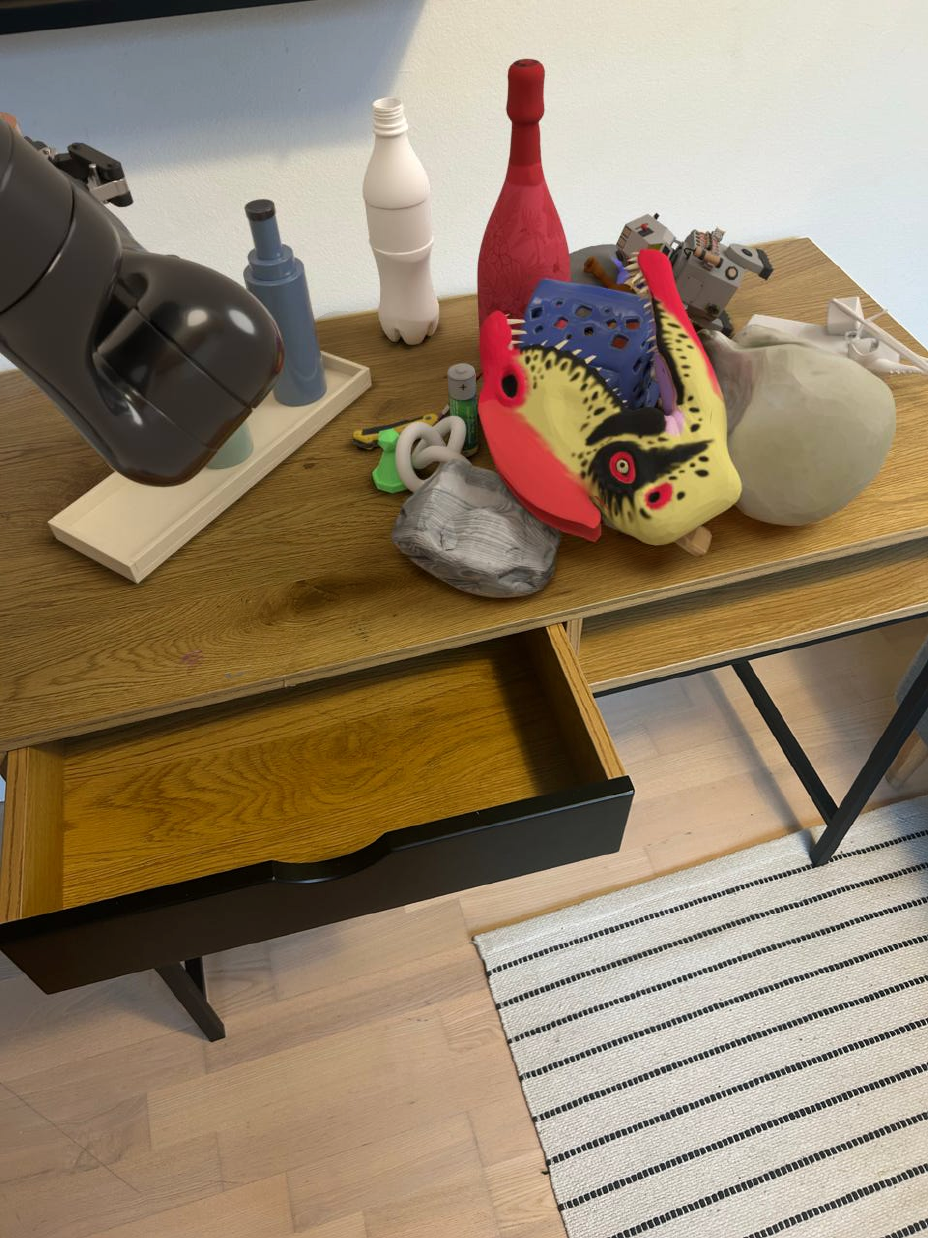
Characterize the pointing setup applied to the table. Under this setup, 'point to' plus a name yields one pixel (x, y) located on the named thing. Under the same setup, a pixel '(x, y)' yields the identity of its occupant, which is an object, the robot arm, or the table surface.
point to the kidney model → (606, 261)
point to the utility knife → (371, 435)
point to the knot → (428, 448)
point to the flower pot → (597, 334)
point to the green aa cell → (447, 408)
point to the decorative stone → (476, 534)
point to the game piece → (388, 464)
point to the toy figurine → (605, 279)
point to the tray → (197, 484)
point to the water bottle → (400, 228)
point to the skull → (798, 423)
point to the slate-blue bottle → (285, 306)
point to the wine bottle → (521, 212)
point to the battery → (464, 403)
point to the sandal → (682, 538)
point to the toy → (610, 427)
